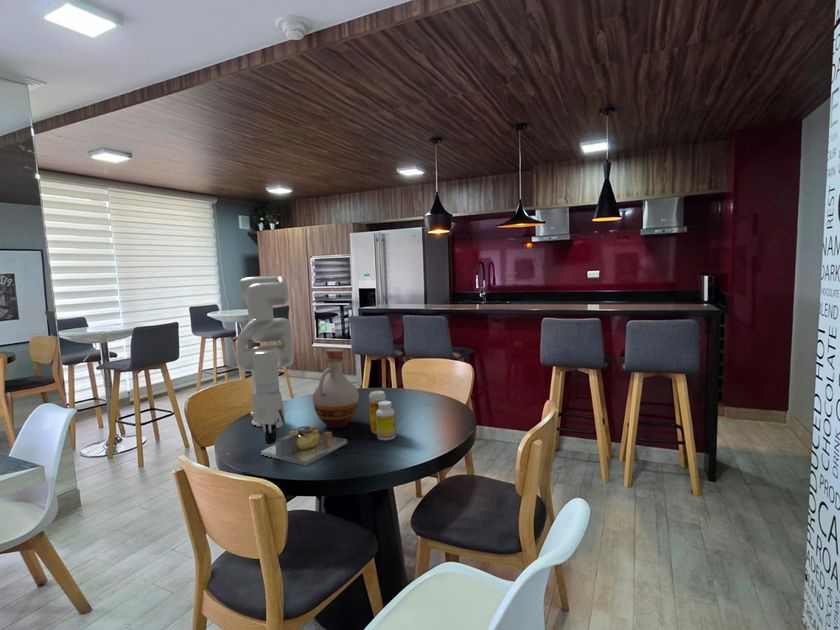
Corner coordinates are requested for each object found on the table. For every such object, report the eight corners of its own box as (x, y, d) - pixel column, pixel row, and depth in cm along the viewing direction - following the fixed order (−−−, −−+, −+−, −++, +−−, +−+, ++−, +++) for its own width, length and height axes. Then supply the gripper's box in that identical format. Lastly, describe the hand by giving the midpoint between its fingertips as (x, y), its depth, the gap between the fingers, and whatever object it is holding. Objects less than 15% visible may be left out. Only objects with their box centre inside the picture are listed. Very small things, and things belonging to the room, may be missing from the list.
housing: (261, 455, 146) (259, 436, 146) (304, 435, 164) (303, 418, 163) (306, 465, 136) (304, 445, 136) (346, 443, 154) (345, 425, 153)
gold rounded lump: (304, 436, 157) (303, 421, 156) (326, 440, 152) (325, 425, 151) (268, 454, 142) (266, 437, 142) (290, 459, 137) (289, 442, 137)
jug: (341, 436, 160) (339, 355, 158) (301, 430, 167) (298, 352, 164) (367, 420, 178) (366, 347, 176) (330, 415, 185) (328, 344, 182)
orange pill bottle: (373, 435, 160) (371, 395, 159) (368, 430, 166) (366, 391, 164) (389, 432, 162) (387, 393, 161) (384, 427, 168) (382, 389, 167)
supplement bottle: (396, 440, 155) (395, 404, 154) (378, 442, 154) (376, 406, 153) (394, 433, 161) (393, 399, 160) (376, 435, 160) (374, 400, 159)
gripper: (242, 389, 144) (246, 443, 145) (274, 392, 137) (278, 450, 138) (260, 384, 151) (264, 436, 152) (292, 387, 143) (296, 442, 145)
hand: (271, 442), depth 145 cm, fingers closed
